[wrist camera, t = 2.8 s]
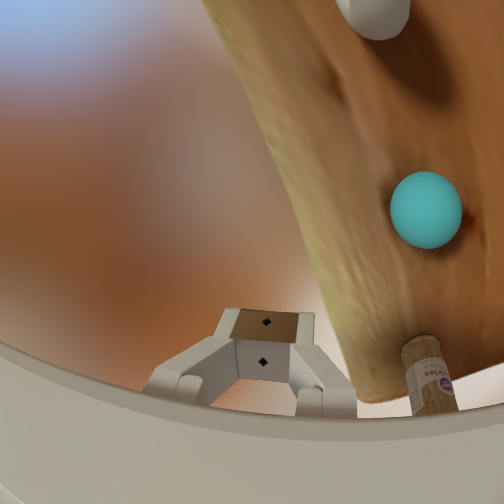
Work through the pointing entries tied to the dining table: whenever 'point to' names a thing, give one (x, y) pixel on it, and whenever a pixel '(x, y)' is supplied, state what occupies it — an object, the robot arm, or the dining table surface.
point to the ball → (426, 210)
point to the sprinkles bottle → (427, 377)
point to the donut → (375, 17)
